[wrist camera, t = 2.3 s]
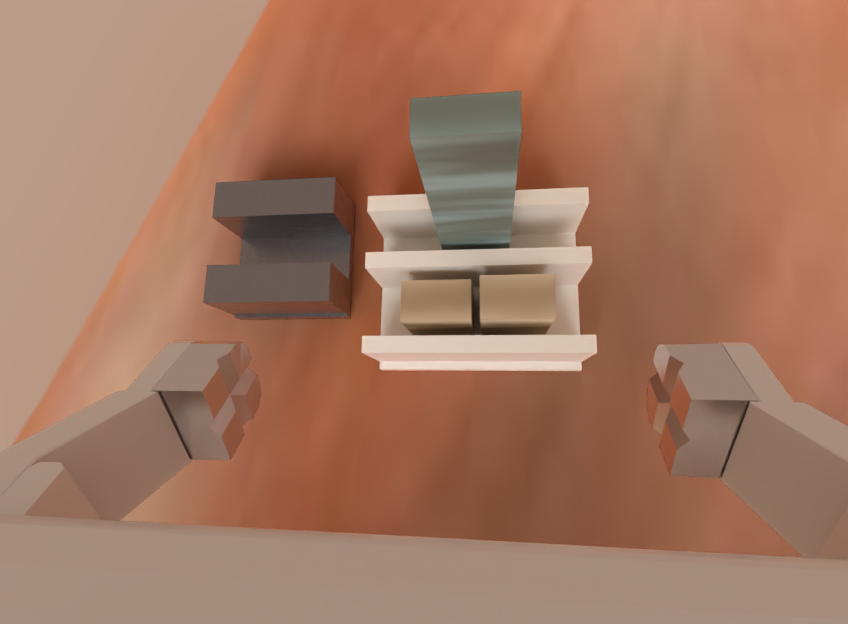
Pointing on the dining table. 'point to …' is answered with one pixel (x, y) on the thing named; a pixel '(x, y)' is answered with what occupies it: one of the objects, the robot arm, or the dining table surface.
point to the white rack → (528, 254)
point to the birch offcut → (437, 307)
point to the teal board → (469, 165)
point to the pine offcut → (517, 304)
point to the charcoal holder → (285, 250)
